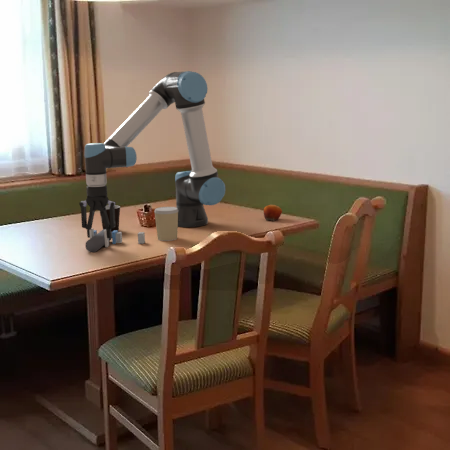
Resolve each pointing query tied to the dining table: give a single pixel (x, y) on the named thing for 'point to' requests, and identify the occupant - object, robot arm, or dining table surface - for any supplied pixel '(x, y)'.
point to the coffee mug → (117, 215)
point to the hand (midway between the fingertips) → (99, 246)
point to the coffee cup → (166, 223)
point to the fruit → (272, 212)
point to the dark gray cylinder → (96, 242)
